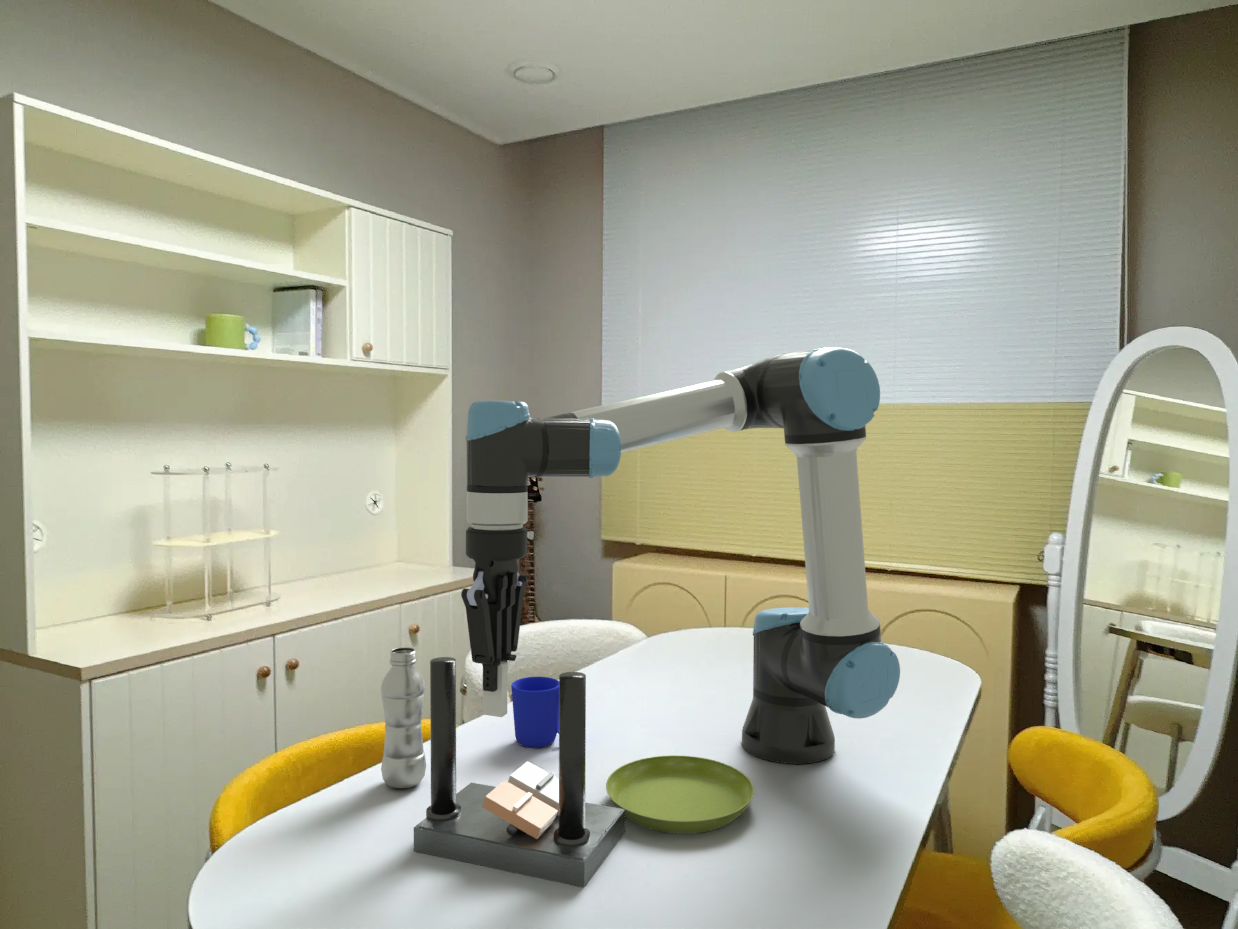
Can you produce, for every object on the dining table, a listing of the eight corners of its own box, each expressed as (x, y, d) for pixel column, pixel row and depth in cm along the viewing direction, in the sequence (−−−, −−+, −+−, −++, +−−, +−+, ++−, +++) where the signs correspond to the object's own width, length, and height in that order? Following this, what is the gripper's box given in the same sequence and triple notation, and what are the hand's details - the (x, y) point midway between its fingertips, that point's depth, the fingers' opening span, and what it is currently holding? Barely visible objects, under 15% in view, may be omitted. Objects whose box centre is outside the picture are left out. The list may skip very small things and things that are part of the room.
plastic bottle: (386, 797, 118) (385, 659, 117) (377, 779, 124) (376, 647, 123) (431, 789, 121) (430, 653, 120) (420, 771, 127) (419, 642, 126)
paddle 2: (554, 821, 104) (559, 807, 104) (536, 839, 99) (542, 825, 99) (501, 790, 106) (505, 776, 106) (481, 807, 102) (486, 792, 101)
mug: (575, 756, 133) (575, 694, 133) (504, 749, 136) (504, 689, 135) (587, 737, 141) (588, 679, 141) (520, 731, 144) (520, 675, 143)
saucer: (609, 774, 127) (609, 754, 127) (744, 777, 126) (744, 756, 126) (602, 842, 106) (602, 818, 106) (763, 845, 106) (764, 820, 105)
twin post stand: (625, 831, 108) (626, 658, 107) (584, 887, 95) (585, 690, 94) (466, 802, 116) (466, 641, 115) (408, 850, 103) (407, 668, 102)
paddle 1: (574, 799, 110) (579, 786, 110) (559, 815, 105) (564, 802, 105) (523, 770, 113) (528, 757, 112) (506, 785, 108) (511, 772, 108)
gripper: (495, 519, 110) (493, 695, 111) (441, 529, 97) (440, 727, 98) (546, 522, 107) (544, 702, 108) (498, 533, 95) (496, 736, 96)
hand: (494, 713), depth 103 cm, fingers closed
